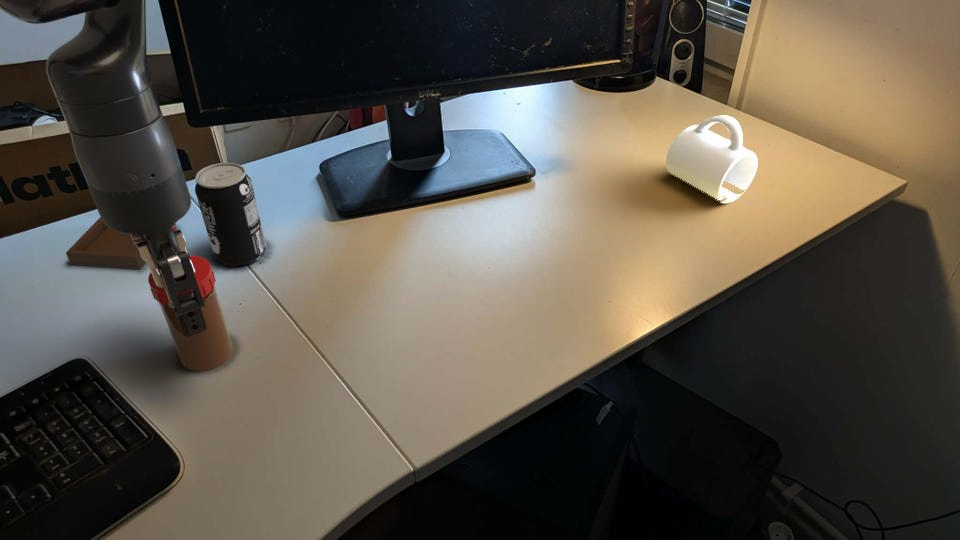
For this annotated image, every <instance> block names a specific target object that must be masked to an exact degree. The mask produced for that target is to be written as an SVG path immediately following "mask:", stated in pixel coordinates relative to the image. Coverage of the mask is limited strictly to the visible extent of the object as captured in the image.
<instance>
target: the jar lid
mask: <svg viewBox="0 0 960 540" xmlns="http://www.w3.org/2000/svg"><path fill="white" fill-rule="evenodd" d="M189 255H190V258H191V259H190V260H191V263H192V265H193V267H194V270H195V277H196V280H197V283H198V286H199V289H200V292H201V295H202V297H203V298H204V297H206V296H207V295H208V294H209V293H210V292H211V291H212V289H213V288H214V287H215V284H216V282H217V281H216V276H215V274H214V271H213V270H212V266H211V264H210V262H209V261H208V260H207V259H206V258H205V257H202V256H199V255H191V254H189ZM157 270H158V269H157ZM158 273H159V275H160V276H162V275H161V273H160V272H159V271H158ZM147 281H148V284H149V285H148V286H149V288H150V291H151V294H152V297H153V299H154V300H155V301H156V302H158V304H159V303H161V304H163V305H166V306H170V305H169V303H170V301H169V299H168V296H167V294H166V292H165V289H163V288H159V287H158V286H157V285H156V283H155V281H154V278H153V276H152V274H151V272H150V273H149V274H148V278H147ZM189 291H190V290H188V291H185V292H182V293H179V294H178V295H181V294H184V293H186V292H189ZM178 295H177V296H178Z"/></svg>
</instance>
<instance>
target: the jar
mask: <svg viewBox="0 0 960 540" xmlns="http://www.w3.org/2000/svg"><path fill="white" fill-rule="evenodd" d="M204 300H205V302H204V304H205V306H204V307H201V310H202V313H203V316H204V319H205V322H206V325H207V328H206V330H205V331H203V332H200V333H198V334H195V335H193V336H190V337H185V336H184V335H183V333H182V331H181V328H180V325H179V323H178V320H177V317H176V314H175V313H174V311H173V309H172V308H171V307H170V306H166V305H163V304H161V303H159V302H158V304H159V306H160V307H159V308H160V310H161V312H162V314H163V318H164V320H165V322H166V325H167V327H168V330H169V333H170V335H171V338H172V341H173V343H174V346H175V349H176V352H177V354H178V357H179V359H180V362H181V364H182V366H183V367H184V368H185V369H187V370H188V371H192V372H207V371H211V370H214V369H217V368H219V367H221V366H222V365H224V364H225V363H226V362H228V360H229V359H230V358H231V356H232V355H233V352H234V351H233V350H234V346H233V342H232V339H231V335H230V332H229V330H228V326H227V323H226V319H225V317H224V313H223V309H222V306H221V303H220V300H219V297H218V293H217V290H216V287H215V286H214V288H213V289H212V291H211V292H210V293H209V294H208V295H207V296H206V297H204Z"/></svg>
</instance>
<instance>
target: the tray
mask: <svg viewBox="0 0 960 540" xmlns="http://www.w3.org/2000/svg"><path fill="white" fill-rule="evenodd" d="M65 254H66V256H67V259H68V261H69V263H70V265H71V266H81V267H95V268H109V269H110V268H112V269H122V270H123V269H124V270H125V269H126V270H138V271H139V270H142V268H143V267H144V266H145V265H146V264H147V262H146V261H145V260H143V259H142V258H141V255H140V253H139V251H138V248H137V246H136V245H135V244H134V242H133V240H132V237H131V235H130V234H128V233H121V232H117V231H114V230H112V229H110V228H108V227H107V226H106V225H105V224H104V223H103V221H102V219H101V217H100V216H99V218H98V219H96V221H94V222H93V224H92V225H91V226H90V227H89V228H88V229H87V230H86V231H85V232H84V233H83V234H82V235H81V236H80V237H79V238H78V239H77V240H76V241H75V243H74V244H72V245H71V246H70V247H69V248H68V249H67V251H66V252H65Z"/></svg>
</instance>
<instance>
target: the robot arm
mask: <svg viewBox="0 0 960 540" xmlns="http://www.w3.org/2000/svg"><path fill="white" fill-rule="evenodd" d="M146 2H147V1H146V0H0V10H1V12H4V13H5V14H6V15H9V16H10V17H11V18H14V19H17V20H18V21H21V22H24V23H28V24H32V25H40V24H48V23H51V22H52V23H53V22H57V21H59V20H63V19H66V18H69V17H73V16H78V15H80V14H84V20H83V25H82V27H81V30H80V31H79V32H78V34H77V35H75V36H74V37H73V38H72V39H70V40H68V41H66V42H65V43H63V44H62V45H60V46H59V47H58V48H56V49H55V50H54V51H53V52H51V54H49V56H48V57H47V59H46V62H45V72H46V75H47V79H48V82H49V84H50V86H51V90H52V92H53V94H54V96H55V100H56V102H57V104H58V106H59V109H60V112H61V114H62V116H63V118H64V122H65V124H66V127H67V129H68V131H69V134H70V138H71V144H72V148H73V151H74V155H75V158H76V161H77V163H78V165H79V167H80V170H81V173H82V175H83V177H84V180H85V182H86V184H87V187H88V189H89V192H90V194H91V197H92V200H93V203H94V204H95V207H96V210H97V211H98V214H99V218H100V217H101V219H102V221H103V223H104V224H105V225H106V226H107V227H108V228H110V229H112V230H114V231H117V232H121V233H128V234H130V235H131V237H132V240H133V242H134V244H135V245H136V246H137V248H138V251H139V253H140V255H141V258H142V259H143V260H145V261H146V264H147V266H148V269H149V271H150V273H151V274H152V276H153V278H154V281H155V283H156V285H157V286H158V287H159V288H163V289H165V292H166V294H167V296H168V299H169V301H170V303H169V305H170V307H171V308H172V309H173V311H174V313H175V314H176V317H177V320H178V323H179V325H180V328H181V331H182V333H183V335H184V336H185V337H190V336H193V335H195V334H198V333H200V332H203V331H205V330H206V328H207V325H206V322H205V319H204V316H203V313H202V310H201V307H204V306H205V304H204V302H205V300H204V298H203V297H202V295H201V292H200V289H199V286H198V283H197V280H196V277H195V270H194V267H193V265H192V263H191V260H190V259H191V258H190V255H191V254H190V253H189V252H188V251H187V249H186V246H187V241H186V238H185V236H184V234H183V232H182V230H181V228H178V226H177V222H179V220H181V219H182V218H183V217H184V216H186V215H187V214H188V213H189V210H190V209H191V205H192V197H191V194H190V190H189V187H188V184H187V181H186V177H185V174H184V170H183V167H182V164H181V160H180V157H179V154H178V151H177V147H176V144H175V141H174V137H173V135H172V132H171V130H170V128H169V125H168V123H167V122H166V118H165V117H164V115H163V111H162V109H161V105H160V102H159V99H158V96H157V92H156V89H155V86H154V82H153V79H152V76H151V73H150V71H149V66H148V56H147V55H148V54H147V49H148V48H147V16H146V15H147V14H146V13H147V11H146V10H147V9H146ZM157 269H158V270H157ZM158 271H159V272H160V273H161V275H162V276H160V275H159V273H158ZM188 290H190V291H189V292H186V293H184V294H181V295H178V294H179V293H182V292H185V291H188ZM177 295H178V296H177Z"/></svg>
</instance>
